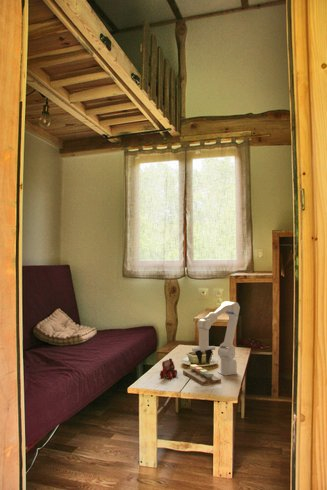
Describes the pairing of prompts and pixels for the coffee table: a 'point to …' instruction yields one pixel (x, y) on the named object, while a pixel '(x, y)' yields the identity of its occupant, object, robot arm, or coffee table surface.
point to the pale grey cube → (208, 375)
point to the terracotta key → (198, 370)
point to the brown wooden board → (201, 378)
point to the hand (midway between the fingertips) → (203, 363)
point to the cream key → (193, 367)
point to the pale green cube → (203, 372)
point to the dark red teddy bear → (168, 369)
